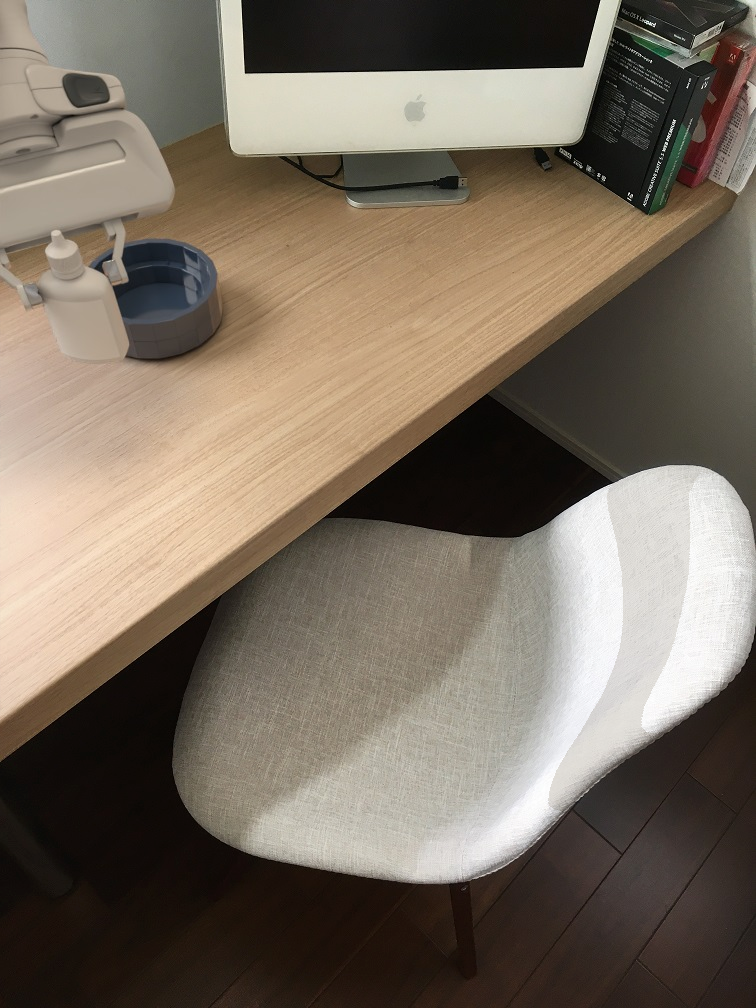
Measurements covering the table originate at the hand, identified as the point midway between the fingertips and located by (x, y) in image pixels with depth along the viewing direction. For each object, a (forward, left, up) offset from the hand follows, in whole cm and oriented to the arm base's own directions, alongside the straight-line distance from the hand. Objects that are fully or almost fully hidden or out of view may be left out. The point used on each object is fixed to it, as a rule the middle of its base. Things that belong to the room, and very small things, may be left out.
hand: (78, 295), depth 63 cm
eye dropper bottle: (0, +1, -7) cm, 7 cm away
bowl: (+7, +19, -20) cm, 28 cm away
